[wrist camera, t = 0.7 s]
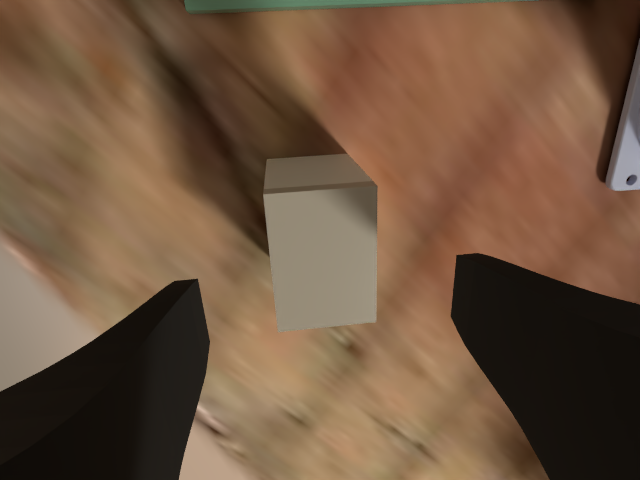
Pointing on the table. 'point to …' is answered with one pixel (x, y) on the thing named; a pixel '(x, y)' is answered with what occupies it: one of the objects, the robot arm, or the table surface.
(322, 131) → the table surface
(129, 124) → the table surface
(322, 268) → the plug
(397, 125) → the table surface
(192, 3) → the board
